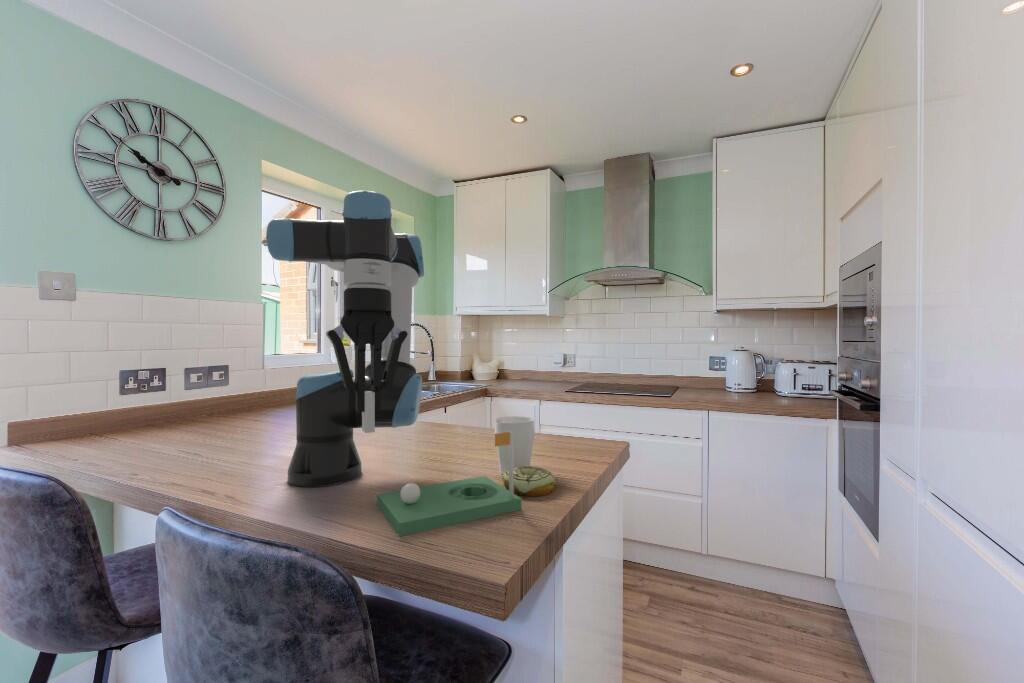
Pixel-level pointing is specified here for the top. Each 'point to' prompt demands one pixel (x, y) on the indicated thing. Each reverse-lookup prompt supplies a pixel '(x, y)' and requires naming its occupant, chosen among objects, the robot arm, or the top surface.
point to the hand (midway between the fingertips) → (368, 430)
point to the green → (452, 500)
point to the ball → (410, 493)
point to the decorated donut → (530, 481)
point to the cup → (515, 441)
